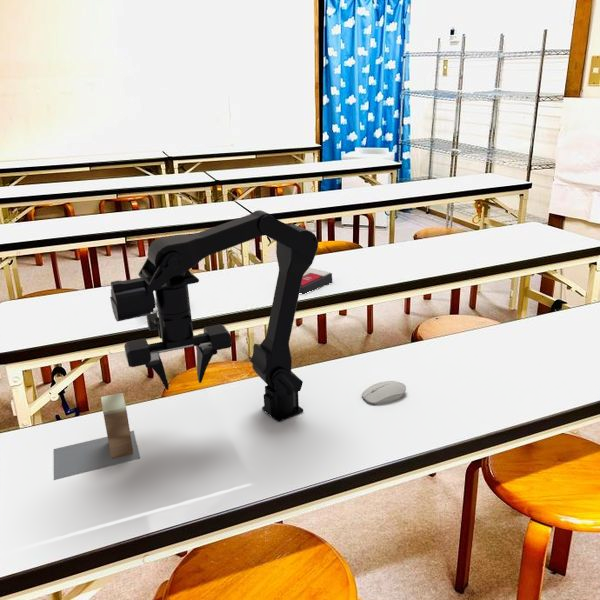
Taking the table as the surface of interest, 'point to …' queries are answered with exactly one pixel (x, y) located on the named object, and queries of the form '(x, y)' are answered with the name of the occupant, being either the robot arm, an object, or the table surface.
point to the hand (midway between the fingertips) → (183, 385)
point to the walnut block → (117, 425)
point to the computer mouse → (384, 392)
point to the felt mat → (88, 457)
